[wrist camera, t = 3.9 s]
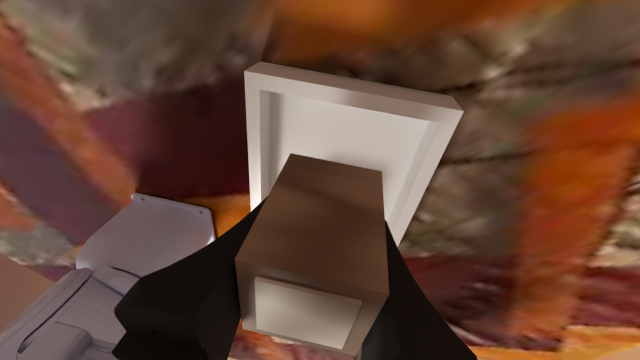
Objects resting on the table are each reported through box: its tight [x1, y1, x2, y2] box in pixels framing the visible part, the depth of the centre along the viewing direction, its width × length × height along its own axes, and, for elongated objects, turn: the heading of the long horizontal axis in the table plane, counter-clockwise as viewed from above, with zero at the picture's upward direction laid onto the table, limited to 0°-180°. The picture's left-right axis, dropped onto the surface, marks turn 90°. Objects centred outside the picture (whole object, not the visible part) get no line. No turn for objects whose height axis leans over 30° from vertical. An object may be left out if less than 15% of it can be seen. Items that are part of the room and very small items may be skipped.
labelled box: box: [235, 153, 389, 356], centre depth 12 cm, size 5×5×7 cm
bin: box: [244, 62, 464, 247], centre depth 23 cm, size 14×18×3 cm
